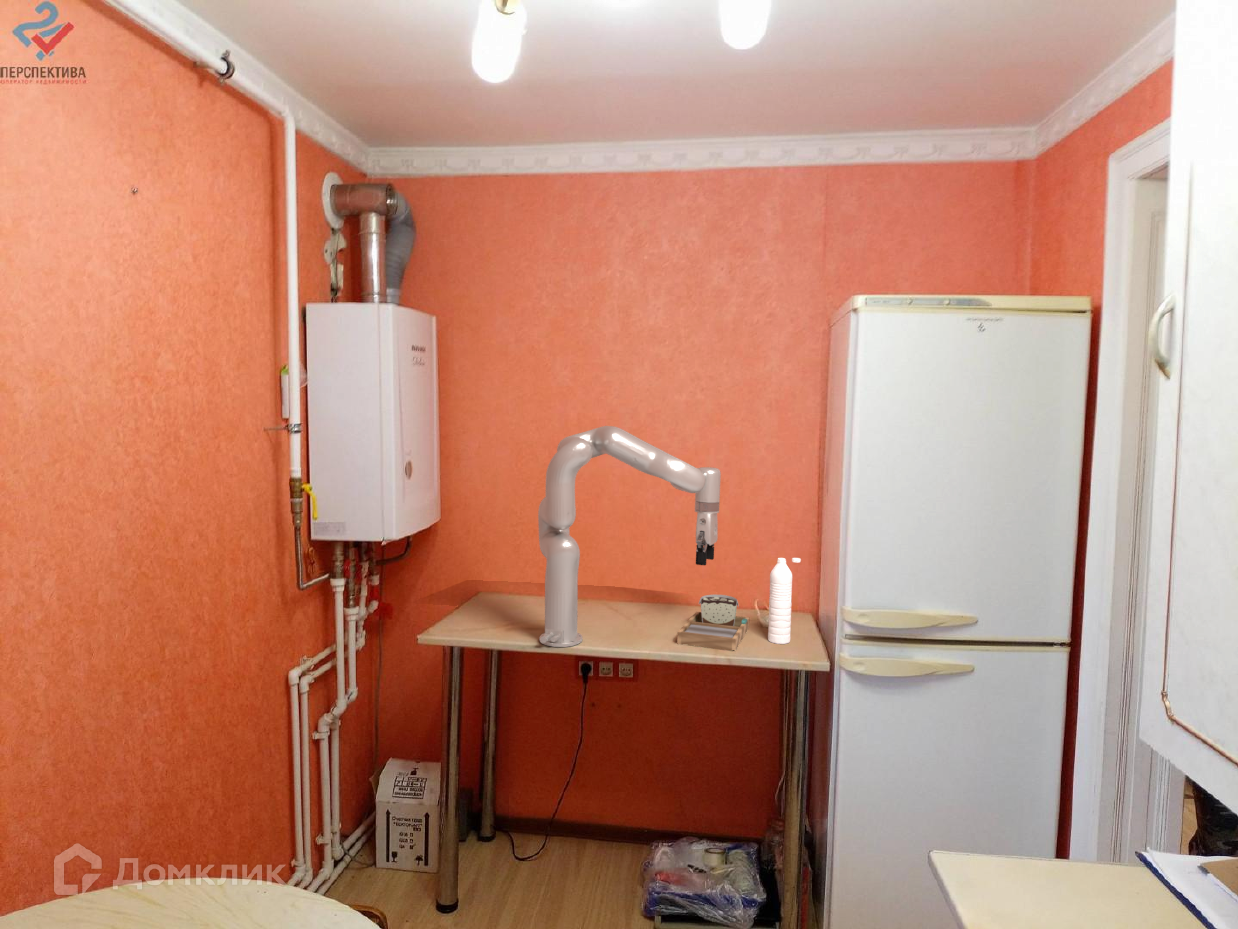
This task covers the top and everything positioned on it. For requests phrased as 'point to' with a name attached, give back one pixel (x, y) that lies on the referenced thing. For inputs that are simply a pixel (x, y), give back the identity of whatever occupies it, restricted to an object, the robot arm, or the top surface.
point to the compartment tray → (713, 633)
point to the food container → (718, 609)
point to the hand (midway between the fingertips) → (704, 562)
